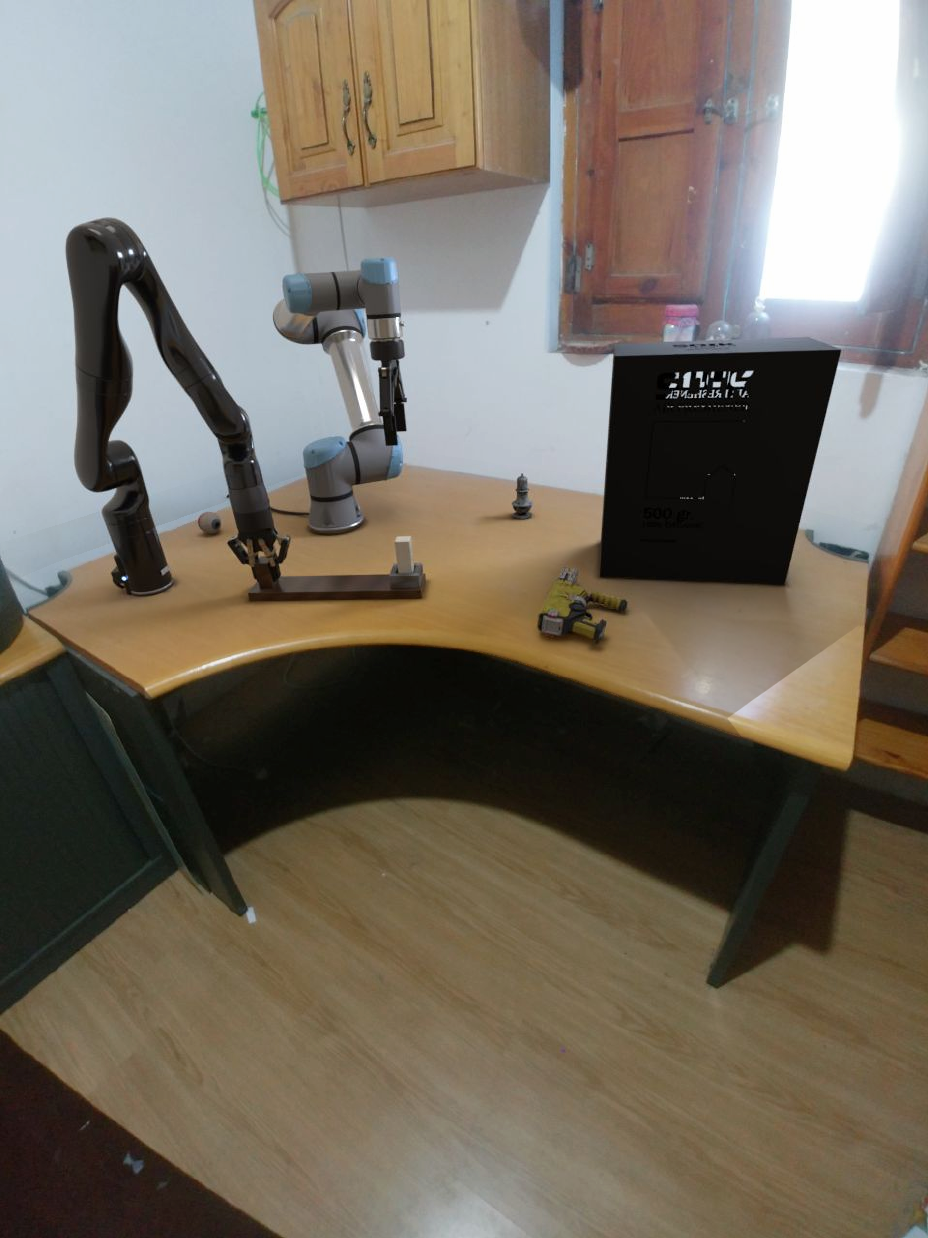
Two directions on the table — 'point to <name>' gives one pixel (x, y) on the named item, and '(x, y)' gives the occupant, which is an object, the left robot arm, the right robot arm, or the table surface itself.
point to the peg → (404, 554)
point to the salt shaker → (522, 499)
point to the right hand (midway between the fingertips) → (396, 438)
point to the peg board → (336, 585)
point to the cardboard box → (711, 457)
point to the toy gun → (574, 609)
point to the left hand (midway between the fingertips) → (268, 579)
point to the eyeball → (209, 522)
